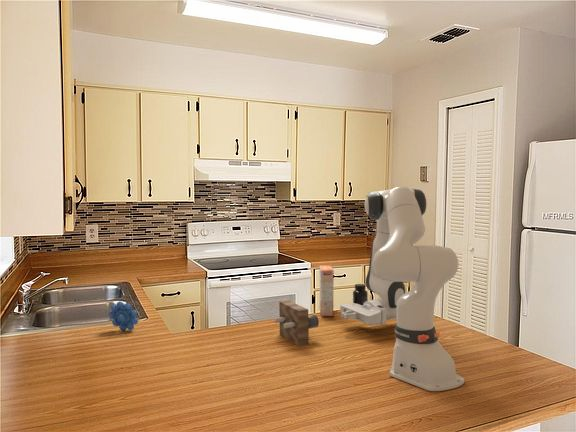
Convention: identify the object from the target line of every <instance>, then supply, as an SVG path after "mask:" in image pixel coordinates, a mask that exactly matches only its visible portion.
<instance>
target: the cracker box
mask: <svg viewBox="0 0 576 432" xmlns="http://www.w3.org/2000/svg"><path fill="white" fill-rule="evenodd" d="M334 274H335V270H334V269H333V266H332V265H319V312H320V316H321V317H334V285H335V284H334V283H335V282H334V280H335V279H334V277H335V275H334Z"/></svg>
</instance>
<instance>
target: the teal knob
mask: <svg viewBox="0 0 576 432" xmlns="http://www.w3.org/2000/svg"><path fill="white" fill-rule="evenodd" d="M285 321H286V317H280V316H279V317H275V318H274V323H275V324H280V322H285Z"/></svg>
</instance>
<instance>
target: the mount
mask: <svg viewBox="0 0 576 432" xmlns="http://www.w3.org/2000/svg"><path fill="white" fill-rule="evenodd" d="M278 304H279V317H286V321H285V322H279V335H280V336H282V337H283V338H284V339H286V340H288V341H290V342H291V343H293V344H294V345H296V346H298V347H303V346H308V345H309V342H310V341H309V340H310V339H309V334H310V333H309V330H310V328H309V323H308V316H309V309H308V308H306V307H304V306H302V305H299V304H297V303H295V302H294V301H291V300H281V301H279V303H278ZM290 322H296V327H291V328H284V323H290Z"/></svg>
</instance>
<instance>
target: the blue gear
mask: <svg viewBox="0 0 576 432" xmlns="http://www.w3.org/2000/svg"><path fill="white" fill-rule="evenodd" d="M132 307H133V306H132V304H131V303H128V302H127V303H124V302H123V301H121V300H120V301H117V302H116V305H115V304H112V305H111V306H110V312H109V313H108V317H109V319H110V320H112V321H111V323H112V325H113V327H118V328H119V329H120V330H121V331H122V332H124V331H127V329H128V330H129V331H132V330H134V328H135V326H136V325H137V324H138V323H139V319H138V318H137V316H138V311H137V310H136V309H134V308H133V309H132Z"/></svg>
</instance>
